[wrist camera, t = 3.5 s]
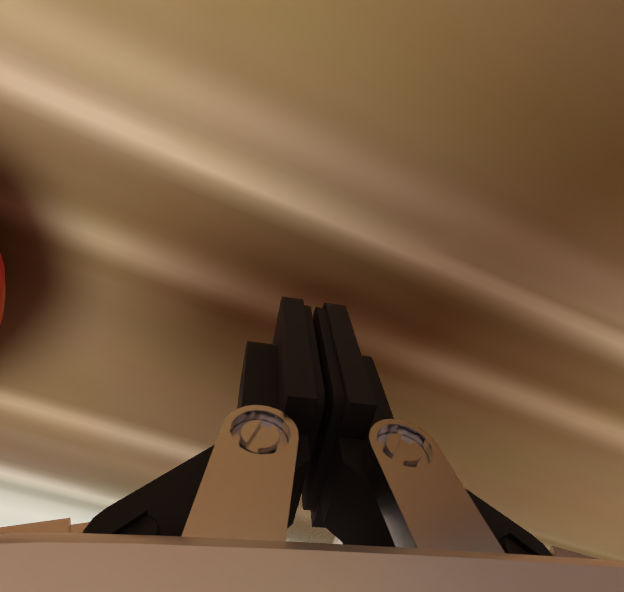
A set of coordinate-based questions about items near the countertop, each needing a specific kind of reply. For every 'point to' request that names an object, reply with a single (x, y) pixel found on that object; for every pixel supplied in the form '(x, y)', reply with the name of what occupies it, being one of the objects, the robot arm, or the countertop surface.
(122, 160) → the countertop surface
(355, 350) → the robot arm
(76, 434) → the countertop surface
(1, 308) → the fruit
